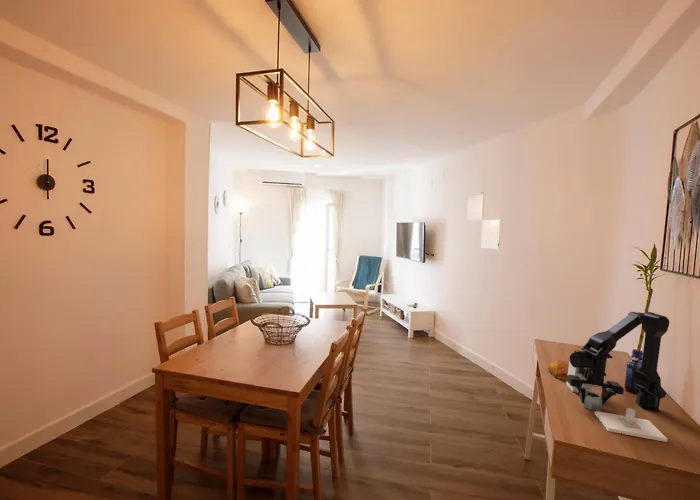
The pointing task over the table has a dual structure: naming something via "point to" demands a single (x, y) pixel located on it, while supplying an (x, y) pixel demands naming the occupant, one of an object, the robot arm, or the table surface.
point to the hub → (593, 401)
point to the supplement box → (573, 371)
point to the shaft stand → (630, 425)
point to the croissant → (559, 369)
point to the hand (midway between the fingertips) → (591, 404)
